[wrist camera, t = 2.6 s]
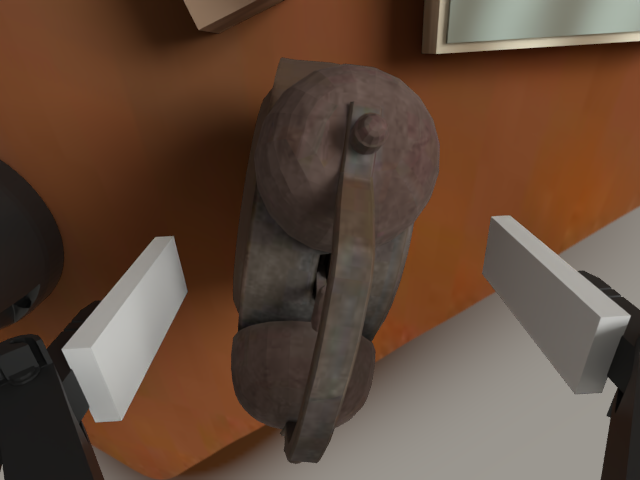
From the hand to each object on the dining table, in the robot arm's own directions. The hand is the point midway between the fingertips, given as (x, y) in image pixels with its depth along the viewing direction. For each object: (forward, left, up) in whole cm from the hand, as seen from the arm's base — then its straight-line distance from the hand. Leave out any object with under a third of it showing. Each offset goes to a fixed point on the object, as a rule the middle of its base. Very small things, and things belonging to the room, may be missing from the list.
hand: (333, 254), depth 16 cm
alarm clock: (0, 0, -13) cm, 13 cm away
